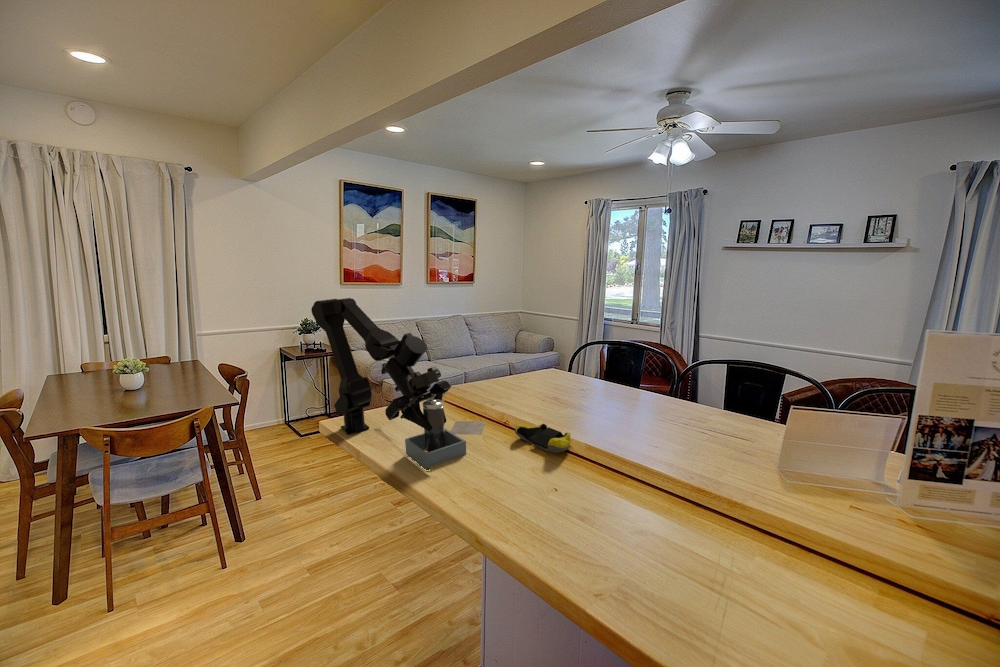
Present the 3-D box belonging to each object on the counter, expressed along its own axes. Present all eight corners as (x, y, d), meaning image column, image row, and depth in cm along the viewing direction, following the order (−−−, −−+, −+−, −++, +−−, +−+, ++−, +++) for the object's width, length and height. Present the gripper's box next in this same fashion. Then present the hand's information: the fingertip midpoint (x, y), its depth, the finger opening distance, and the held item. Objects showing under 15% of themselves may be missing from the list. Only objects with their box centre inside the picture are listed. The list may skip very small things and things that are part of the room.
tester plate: (449, 436, 123) (449, 433, 123) (456, 424, 132) (455, 421, 131) (481, 437, 122) (481, 434, 122) (485, 424, 131) (485, 421, 131)
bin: (406, 454, 113) (404, 438, 112) (444, 442, 119) (443, 427, 119) (426, 471, 104) (425, 454, 103) (466, 457, 111) (465, 441, 110)
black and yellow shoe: (554, 463, 107) (579, 450, 113) (554, 442, 106) (580, 430, 112) (511, 444, 118) (537, 433, 124) (511, 425, 117) (537, 415, 123)
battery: (425, 444, 113) (422, 397, 111) (445, 442, 114) (442, 396, 112) (425, 453, 109) (422, 404, 106) (445, 451, 109) (443, 403, 107)
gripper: (389, 367, 102) (427, 422, 98) (444, 350, 117) (478, 397, 113) (370, 393, 108) (404, 446, 104) (424, 374, 123) (456, 420, 119)
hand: (438, 426), depth 109 cm, fingers closed on battery, 5 cm apart
